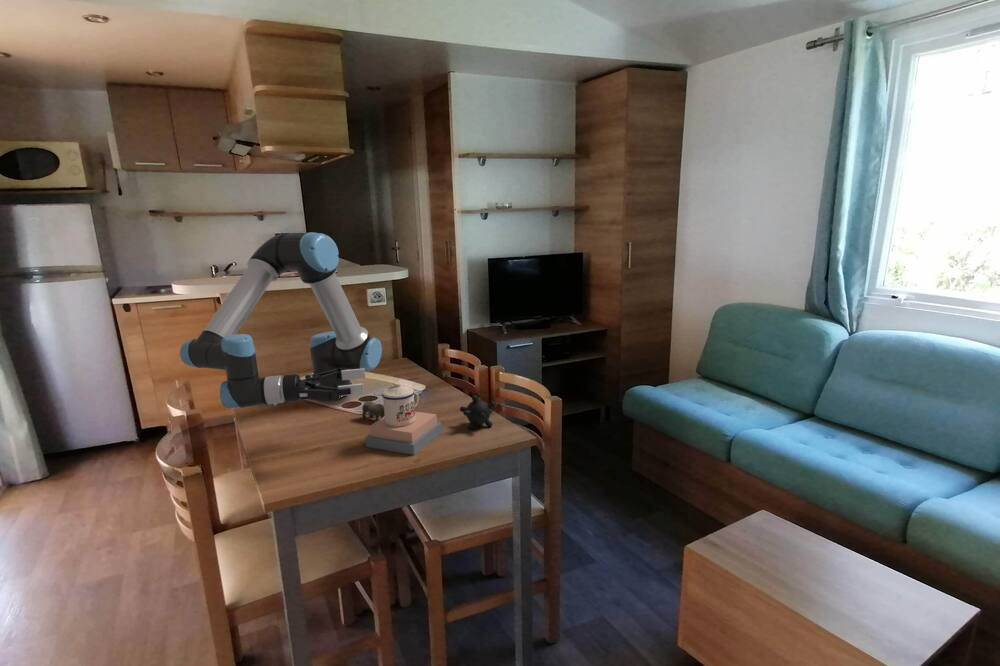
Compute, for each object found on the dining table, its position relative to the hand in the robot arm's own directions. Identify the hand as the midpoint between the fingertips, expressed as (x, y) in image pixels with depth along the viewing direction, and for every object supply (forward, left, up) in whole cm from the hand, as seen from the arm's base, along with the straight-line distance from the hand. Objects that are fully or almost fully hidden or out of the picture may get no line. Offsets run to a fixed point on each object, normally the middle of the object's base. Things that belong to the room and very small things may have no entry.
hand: (364, 380), depth 148 cm
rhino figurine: (-16, -8, -20) cm, 26 cm away
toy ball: (-22, +24, -20) cm, 38 cm away
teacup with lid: (-7, +8, -13) cm, 17 cm away
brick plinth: (-6, +8, -19) cm, 22 cm away
